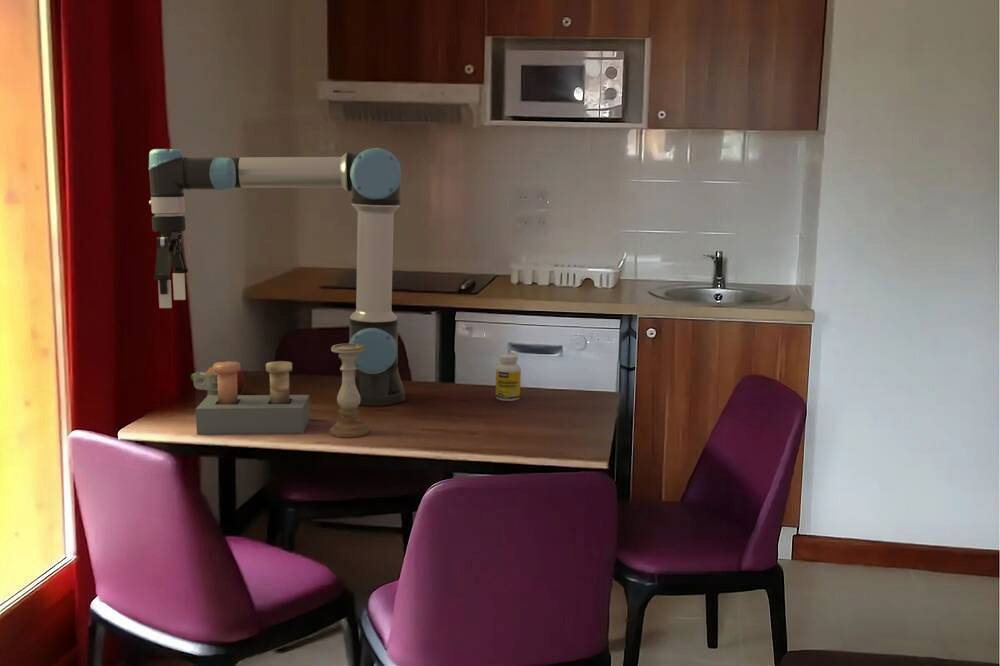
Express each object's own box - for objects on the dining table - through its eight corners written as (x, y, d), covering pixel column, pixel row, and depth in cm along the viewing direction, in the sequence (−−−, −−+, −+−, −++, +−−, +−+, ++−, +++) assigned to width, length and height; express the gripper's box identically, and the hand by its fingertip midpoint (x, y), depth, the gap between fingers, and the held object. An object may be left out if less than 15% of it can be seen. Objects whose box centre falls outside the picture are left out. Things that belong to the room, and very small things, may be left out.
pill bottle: (491, 400, 268) (492, 356, 266) (501, 395, 274) (501, 352, 272) (514, 402, 265) (515, 358, 263) (523, 397, 271) (524, 354, 269)
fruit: (250, 399, 266) (249, 362, 264) (213, 404, 260) (211, 366, 258) (236, 391, 274) (235, 355, 273) (199, 396, 269) (198, 359, 267)
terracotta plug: (243, 400, 241) (242, 361, 240) (238, 406, 236) (237, 366, 234) (217, 400, 241) (216, 361, 239) (212, 407, 235) (210, 366, 233)
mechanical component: (229, 416, 249) (228, 376, 247) (191, 413, 251) (189, 373, 249) (235, 413, 252) (233, 373, 250) (197, 410, 254) (195, 371, 252)
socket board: (309, 418, 247) (309, 394, 246) (303, 433, 234) (302, 407, 233) (208, 419, 245) (207, 395, 244) (196, 434, 232) (195, 408, 231)
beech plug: (294, 400, 242) (293, 361, 241) (291, 406, 236) (290, 366, 235) (269, 400, 242) (267, 361, 240) (265, 406, 236) (264, 366, 234)
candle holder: (371, 436, 232) (370, 349, 229) (332, 439, 230) (331, 350, 226) (365, 426, 240) (364, 342, 237) (327, 429, 238) (326, 343, 234)
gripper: (165, 212, 254) (170, 296, 257) (137, 218, 229) (142, 311, 233) (196, 212, 254) (200, 296, 258) (171, 218, 230) (176, 311, 233)
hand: (173, 303), depth 245 cm, fingers open, 13 cm apart
